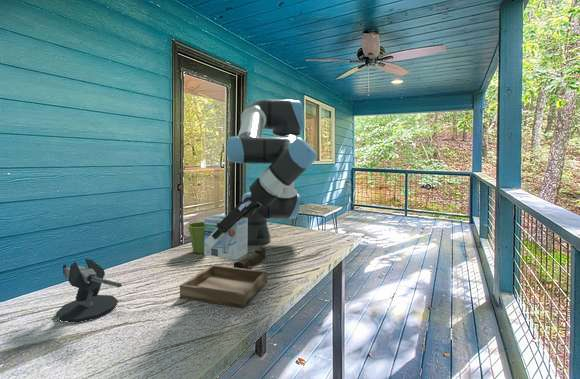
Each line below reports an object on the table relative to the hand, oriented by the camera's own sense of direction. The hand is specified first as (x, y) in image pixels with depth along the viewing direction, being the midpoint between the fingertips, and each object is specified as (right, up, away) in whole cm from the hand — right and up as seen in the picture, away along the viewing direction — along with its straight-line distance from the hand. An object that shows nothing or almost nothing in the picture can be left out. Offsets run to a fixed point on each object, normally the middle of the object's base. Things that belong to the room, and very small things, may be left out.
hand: (215, 240), depth 85 cm
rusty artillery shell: (+7, -13, +23) cm, 27 cm away
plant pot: (-15, -11, +37) cm, 41 cm away
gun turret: (-26, -15, -13) cm, 33 cm away
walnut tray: (+3, -14, +1) cm, 15 cm away
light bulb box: (+3, -4, -1) cm, 5 cm away
